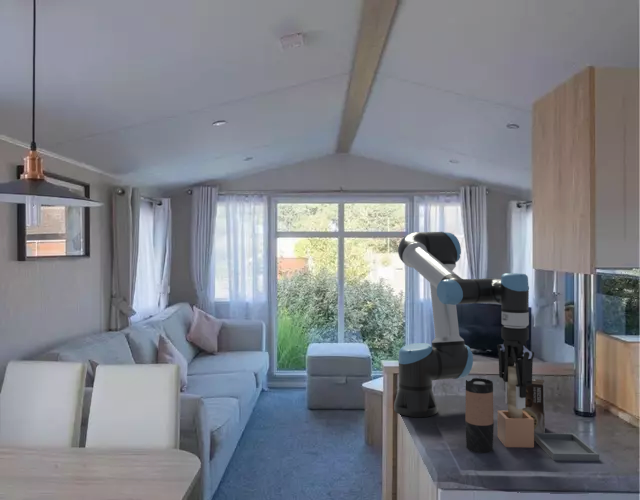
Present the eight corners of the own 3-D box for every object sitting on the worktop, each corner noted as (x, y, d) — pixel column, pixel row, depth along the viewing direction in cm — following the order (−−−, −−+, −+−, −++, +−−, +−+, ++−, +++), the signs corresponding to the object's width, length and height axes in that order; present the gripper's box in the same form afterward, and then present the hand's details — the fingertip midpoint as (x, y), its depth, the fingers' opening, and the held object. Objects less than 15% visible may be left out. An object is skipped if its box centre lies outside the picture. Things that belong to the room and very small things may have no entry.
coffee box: (545, 430, 168) (545, 379, 168) (544, 437, 163) (544, 384, 163) (514, 426, 172) (514, 376, 172) (512, 432, 166) (512, 381, 166)
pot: (497, 440, 160) (497, 410, 160) (524, 440, 160) (524, 410, 160) (505, 450, 152) (505, 419, 152) (534, 450, 152) (533, 419, 152)
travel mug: (495, 457, 147) (494, 385, 147) (466, 455, 148) (466, 384, 148) (491, 447, 154) (491, 378, 154) (464, 445, 156) (464, 377, 156)
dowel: (506, 439, 158) (506, 365, 158) (520, 439, 158) (519, 365, 158) (510, 444, 154) (510, 368, 154) (524, 444, 154) (524, 368, 154)
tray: (532, 441, 159) (532, 432, 159) (573, 442, 158) (573, 433, 158) (553, 463, 143) (553, 453, 143) (599, 464, 142) (599, 454, 142)
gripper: (486, 322, 163) (486, 399, 163) (524, 331, 146) (524, 416, 147) (506, 321, 165) (506, 397, 165) (546, 329, 149) (546, 413, 149)
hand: (515, 405), depth 156 cm, fingers closed on dowel, 4 cm apart
